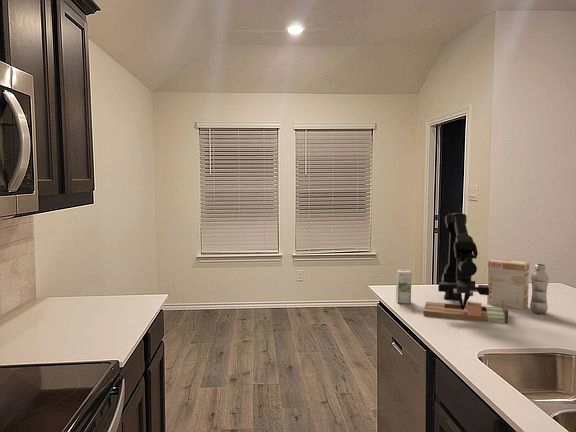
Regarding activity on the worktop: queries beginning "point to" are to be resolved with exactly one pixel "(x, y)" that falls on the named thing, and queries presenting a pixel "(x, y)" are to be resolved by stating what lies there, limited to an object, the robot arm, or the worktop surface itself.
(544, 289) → the plastic bottle
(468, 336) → the worktop surface
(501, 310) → the board
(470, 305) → the coral block
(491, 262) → the coffeecake box
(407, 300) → the syrup box
